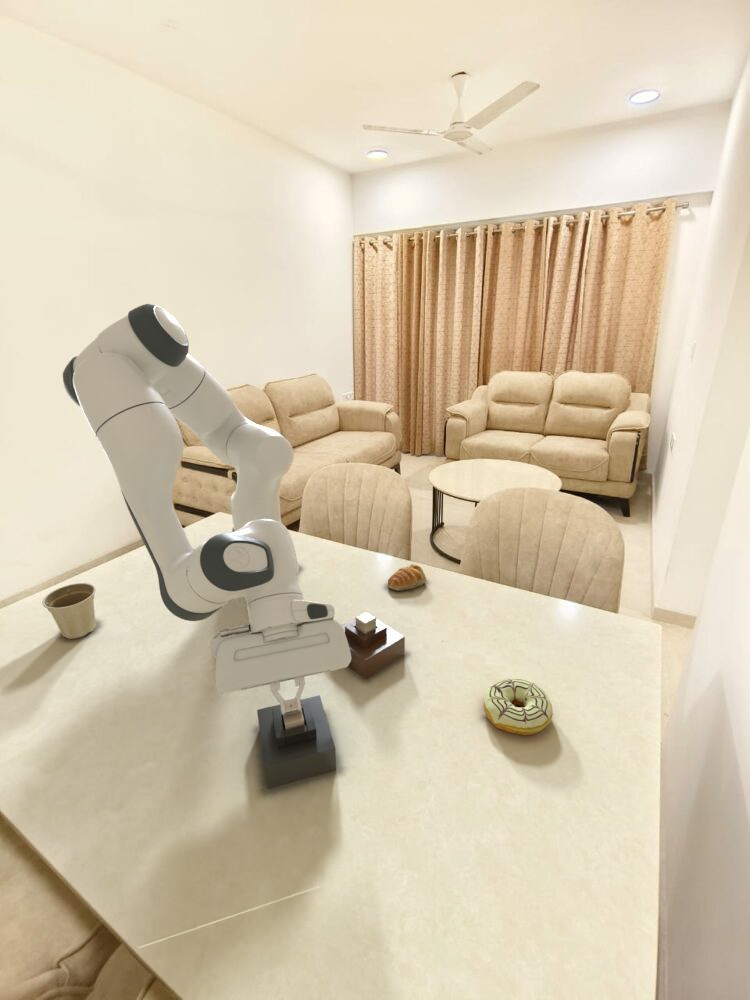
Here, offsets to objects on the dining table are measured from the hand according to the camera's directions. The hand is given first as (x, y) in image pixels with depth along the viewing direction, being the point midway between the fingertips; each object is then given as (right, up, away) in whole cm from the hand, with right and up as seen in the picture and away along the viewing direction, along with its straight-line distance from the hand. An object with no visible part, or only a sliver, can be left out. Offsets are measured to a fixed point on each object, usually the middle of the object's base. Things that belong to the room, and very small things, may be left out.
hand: (291, 712), depth 74 cm
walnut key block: (+11, +2, +24) cm, 26 cm away
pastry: (+20, +11, +47) cm, 52 cm away
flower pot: (-50, +4, +31) cm, 59 cm away
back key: (+11, +7, +22) cm, 25 cm away
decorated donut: (+36, -4, +9) cm, 37 cm away
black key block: (0, -7, +3) cm, 7 cm away
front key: (0, -3, +1) cm, 3 cm away
